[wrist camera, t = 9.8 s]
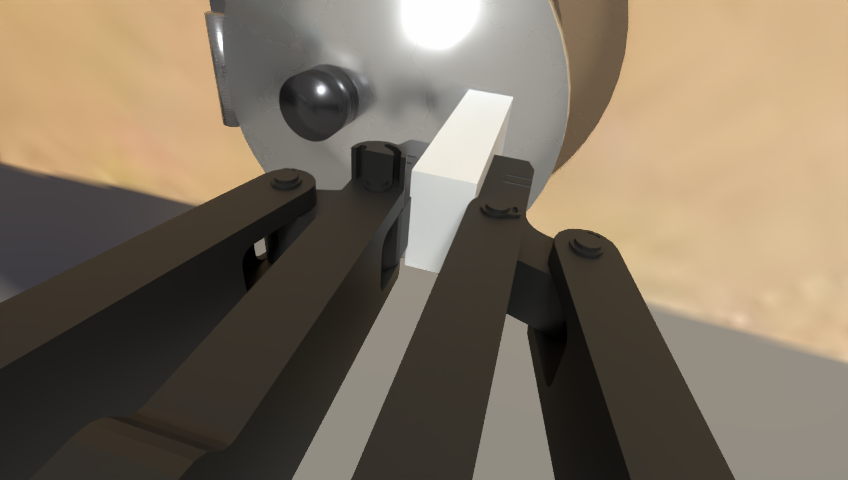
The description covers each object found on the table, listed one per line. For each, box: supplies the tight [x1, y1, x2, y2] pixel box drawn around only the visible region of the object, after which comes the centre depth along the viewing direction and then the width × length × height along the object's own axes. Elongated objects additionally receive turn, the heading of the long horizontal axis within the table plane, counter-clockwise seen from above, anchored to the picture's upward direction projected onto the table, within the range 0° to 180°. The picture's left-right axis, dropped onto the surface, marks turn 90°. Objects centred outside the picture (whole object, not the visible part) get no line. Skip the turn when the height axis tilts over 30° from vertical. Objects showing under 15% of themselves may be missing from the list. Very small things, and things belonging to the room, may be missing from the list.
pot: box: [210, 0, 628, 173], centre depth 22 cm, size 19×19×9 cm
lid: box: [204, 0, 571, 258], centre depth 17 cm, size 14×14×2 cm
